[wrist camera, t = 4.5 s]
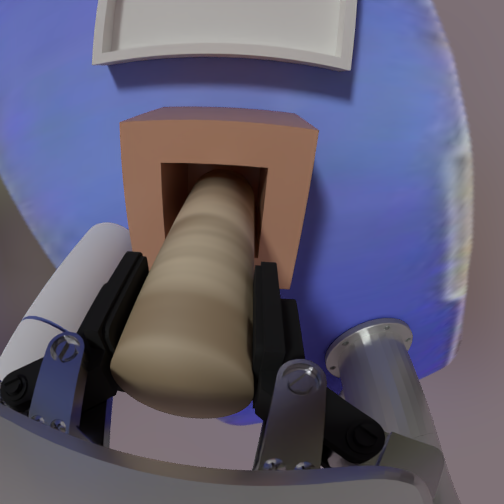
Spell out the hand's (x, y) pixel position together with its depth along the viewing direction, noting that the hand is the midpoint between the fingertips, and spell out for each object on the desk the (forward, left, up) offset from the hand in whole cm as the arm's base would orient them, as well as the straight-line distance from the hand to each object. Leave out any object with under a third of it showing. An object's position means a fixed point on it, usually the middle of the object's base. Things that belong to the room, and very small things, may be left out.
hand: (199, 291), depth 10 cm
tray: (+17, +1, -14) cm, 22 cm away
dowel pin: (0, 0, -9) cm, 9 cm away
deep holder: (0, 0, -14) cm, 14 cm away
